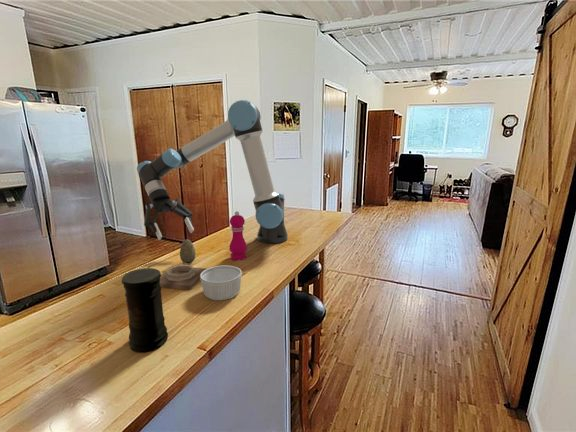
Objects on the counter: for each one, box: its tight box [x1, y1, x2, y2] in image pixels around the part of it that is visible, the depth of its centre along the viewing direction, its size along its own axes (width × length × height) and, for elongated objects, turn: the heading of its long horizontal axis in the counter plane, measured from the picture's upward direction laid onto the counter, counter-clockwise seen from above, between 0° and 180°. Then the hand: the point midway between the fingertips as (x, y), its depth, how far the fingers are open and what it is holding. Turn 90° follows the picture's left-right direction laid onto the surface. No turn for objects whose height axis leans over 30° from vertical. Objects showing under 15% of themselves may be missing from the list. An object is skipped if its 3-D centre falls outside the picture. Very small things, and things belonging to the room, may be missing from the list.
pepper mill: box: [229, 211, 248, 261], centre depth 130 cm, size 7×7×20 cm
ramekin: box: [199, 265, 243, 301], centre depth 102 cm, size 13×13×7 cm
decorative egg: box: [179, 238, 197, 265], centre depth 125 cm, size 6×6×10 cm
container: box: [121, 267, 169, 353], centre depth 76 cm, size 9×9×18 cm
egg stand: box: [160, 264, 207, 291], centre depth 112 cm, size 14×14×4 cm
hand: (177, 234), depth 127 cm, fingers open, 13 cm apart
